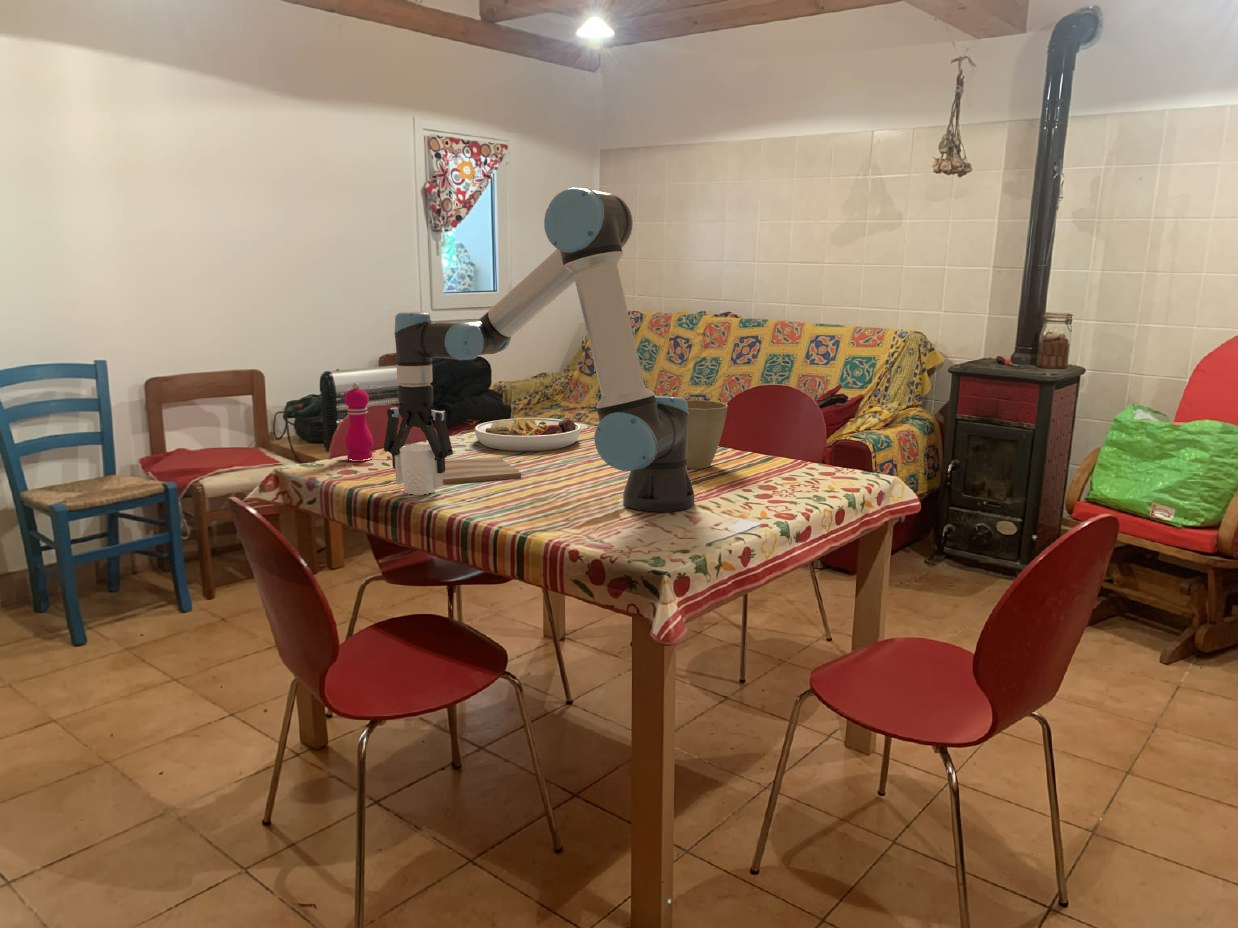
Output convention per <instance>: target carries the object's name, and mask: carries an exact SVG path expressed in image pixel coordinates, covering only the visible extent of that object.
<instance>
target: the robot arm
mask: <svg viewBox="0 0 1238 928" xmlns="http://www.w3.org/2000/svg"><path fill="white" fill-rule="evenodd" d="M633 224H634V223H633V215H632V213H631V210H630V208H629V206H628V205H627V203H626V202H625V201H624V200H623V199H622V198H620V197H619V196H617V195H616V194H614V193H610V192H605V191H599V190H594V189H591V188H588V187H582V186H581V187H571V188H567V189H565V190H561V191H560V192H559V193H557V194H556V195H555V196H554V197H553V199H552V200H550V203H549V205H548V207H547V208H546V210H545V214H544V219H543V226H544V233H545V235H546V238H547V240H548V241H549V243H550V244H551V246H554V247H553V248H555V250H554V251H553V252H552V253H551V254H550V255H549V256H547V257H546V258H545V259H544V260H543V261H542V262H541V263H539V264H538V265H537V266H536V267H535V268H534V269H533V270H532V271H531V272H530V273H528V275H527V276H525V277H524V278H523V279H522V280H521V281H520V282H519V283H517V284H516V286H515V287H513V288H512V289H511V290H510V291H509V292H508V293H507V294H506V295H504V296H503V297H502V298H501V299H500V300H499V301H498V302H496V304H494V306H492V307H491V308H490V309H489V310H488V311H487V312H486V313H485V314H484V315H483V316H481V317H480V318H479V319H477V320H470V321H459V322H457V321H456V322H434V321H432V318H431V315H430V313H428V312H424V311H403V312H398V313H397V314H396V315H395V316H394V317H395V318H394V333H393V334H394V338H395V339H394V341H395V353H396V382H397V383H398V384H399V385H398V386H397V400H398V403H399V406H398V407H396V406H394V407H391V408H387V410H386V413H387V425H386V430H385V432H386V433H385V438H384V445H383V451H384V452H387V453H389V454H390V455H391V461H392V469H394V470H395V472H394V473H395V485H402V484H404V483H403V477H402V469H401V459H400V448H401V447H403V446H405V444H406V441H407V439H408V437H409V434H410V431H411V430H412V428H413V427H416V428H420V430H421V432H423V434H424V436H425V438H426V440H427V442H428V445H430V447H431V449H432V451H433V453H434V456H435V458H434V459H432V469H433V489H435V490H436V489H439V488H442V487H444V484H443V473H444V472H445V461H446V458H447V457H451V456H452V455H453V454H454V451H453V447H452V443H451V438H450V434H449V433H450V432H449V430H448V425H447V412H446V411H445V410H435V407H434V405H433V404H434V403H433V402H434V386H433V385H432V384H431V383H433V379H434V378H433V359H434V358H435V359H436V358H437V359H449V360H450V359H451V360H457V361H466V360H469V361H470V360H475V359H476V358H479V357H478V356H483V355H495V354H497V353H500V352H502V351H505V350H506V349H507V348H508V347H509V346H510V345H509V344H510V343H511V341H512V337H513V336H515V334H517V333H518V332H519V331H520V330H521V329H522V328H523V327H525V326H526V325H527V324H528V323H529V322H530V321H532V320H533V319H534V318H535V317H536V316H537V315H538V314H540V313H541V312H542V311H543V310H544V309H545V308H546V307H548V306H549V305H550V304H552V303H553V302H554V301H555V300H556V299H557V298H558V297H559V296H561V294H563V293H564V292H565V291H566V290H568V288H570V287H571V286H572V285H573V284H574V283H575V287H576V291H577V294H578V296H577V297H578V298H579V304H580V307H581V308H580V309H581V311H582V312H581V313H582V318H583V320H584V325H585V330H586V334H587V338H588V342H589V346H590V347H589V348H590V352H591V355H592V361H593V364H594V365H593V366H594V369H595V373H596V376H597V381H598V386H599V390H600V395H601V397H600V399H599V402H598V404H596V412H597V416H598V421H599V422H598V424H597V426H596V428H595V431H594V446H595V449H596V451H597V453H598V455H599V456H600V458H601V459H602V460H603V462H604V463H605V464H607V465H609V466H610V467H611V468H613V469H615V470H617V471H622V472H629V475H628V478H627V480H626V484H625V486H624V489H623V494H622V496H623V497H622V499H623V501H622V503H623V506H624V505H625V507H627V508H629V509H632V510H637V511H643V512H653V513H668V512H672V513H673V512H678V511H684V510H688V509H690V508H693V507H694V505H695V491H694V488H693V485H692V482H691V479H690V474H689V471H688V468H687V442H688V417H689V412H688V403H687V401H686V400H687V399H685V398H684V397H679V396H677V397H675V396H663V395H662V396H661V395H656V394H655V393H654V392H653V391H651V390H650V389H648V388H647V387H646V386H645V382H644V377H643V372H642V369H641V364H640V360H639V355H638V350H637V346H636V341H635V338H634V332H633V329H632V324H631V321H630V315H629V311H628V307H627V302H626V298H625V294H624V289H623V285H622V280H621V275H620V272H619V271H620V270H619V267H618V264H619V262H620V260H621V258H622V256H623V254H624V253H623V249H622V248H623V247H625V245H626V244H627V243H628V241H629V239H630V236H631V235H632V231H633ZM400 417H401V422H400ZM432 419H433V420H432ZM433 421H434V422H433ZM399 422H400V424H399ZM398 429H399V430H398Z"/></svg>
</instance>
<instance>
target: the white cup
mask: <svg viewBox="0 0 1238 928" xmlns="http://www.w3.org/2000/svg"><path fill="white" fill-rule="evenodd" d="M434 458H435V456H434V453H433V451H432V449H431V447H430V445H429V444H420V443H419V444H410V445H409V444H408V445H404V446H403V447H401V448H400V459H401V469H402V477H403V483H402V484H403V491H404V492H403V493H405V492H406V493H408V494H407V495H409V494H413V495H412V496H424V494H426V495H430V494H429V493H431V494H433V493H435V492H436V489H433V469H432V459H434ZM434 491H435V492H434ZM406 493H405V494H406Z"/></svg>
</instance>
